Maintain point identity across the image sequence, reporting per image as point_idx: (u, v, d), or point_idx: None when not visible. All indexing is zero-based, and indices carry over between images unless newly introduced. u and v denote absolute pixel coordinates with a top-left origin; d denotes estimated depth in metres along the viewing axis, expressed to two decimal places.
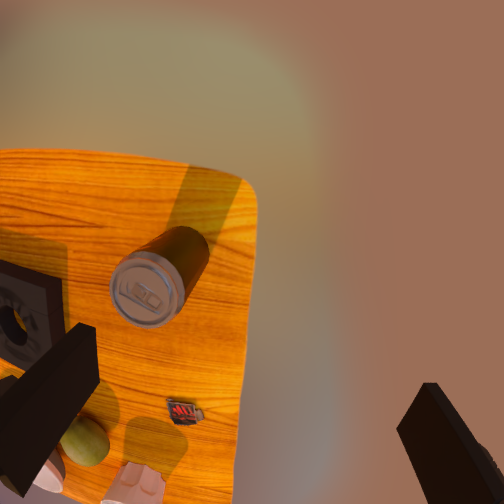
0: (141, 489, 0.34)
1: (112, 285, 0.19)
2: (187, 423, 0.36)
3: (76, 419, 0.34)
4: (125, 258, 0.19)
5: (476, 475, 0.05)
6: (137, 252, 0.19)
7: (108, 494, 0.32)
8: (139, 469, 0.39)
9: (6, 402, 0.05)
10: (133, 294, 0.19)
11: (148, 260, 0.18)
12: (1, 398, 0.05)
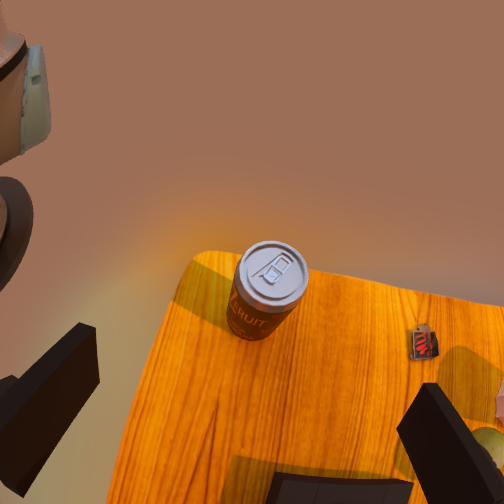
0: None
1: (264, 300, 0.20)
2: (435, 341, 0.32)
3: None
4: (239, 289, 0.21)
5: (476, 475, 0.05)
6: (235, 278, 0.22)
7: None
8: (501, 401, 0.28)
9: (6, 402, 0.05)
10: (273, 281, 0.21)
11: (242, 259, 0.21)
12: (1, 398, 0.05)
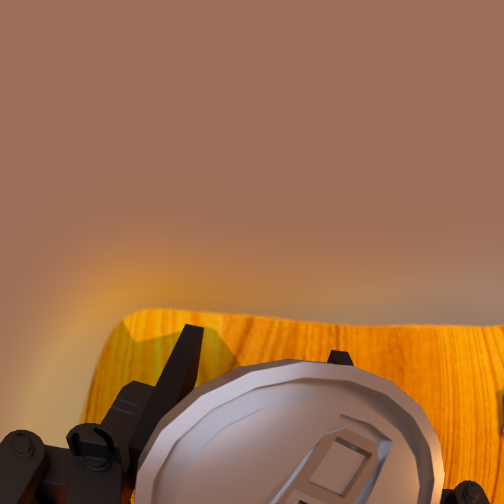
0: None
1: None
2: None
3: None
4: None
5: None
6: None
7: None
8: None
9: (156, 407, 0.07)
10: None
11: (140, 475, 0.03)
12: (149, 404, 0.07)
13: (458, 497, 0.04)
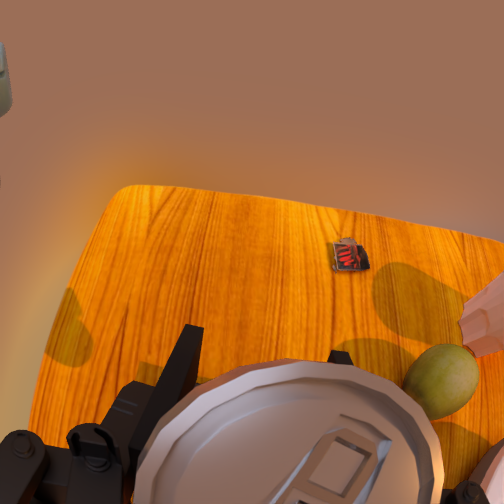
0: (484, 300, 0.28)
1: None
2: (364, 254, 0.35)
3: (405, 391, 0.24)
4: None
5: None
6: None
7: None
8: (466, 324, 0.31)
9: (156, 407, 0.07)
10: None
11: (139, 475, 0.03)
12: (149, 404, 0.07)
13: (458, 497, 0.04)
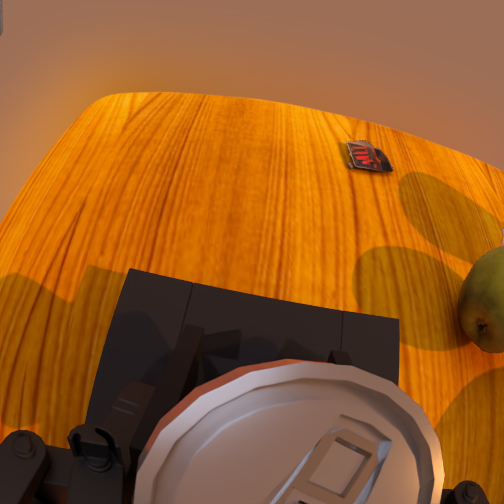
0: None
1: None
2: (384, 157, 0.27)
3: (467, 308, 0.16)
4: None
5: None
6: None
7: None
8: None
9: (157, 407, 0.07)
10: None
11: (140, 475, 0.03)
12: (150, 405, 0.07)
13: (457, 497, 0.04)
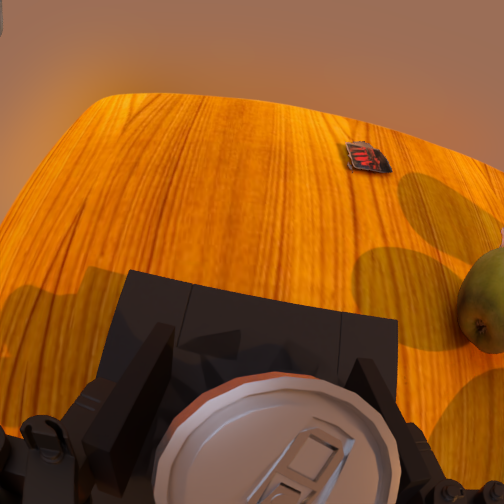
0: None
1: None
2: (383, 158, 0.27)
3: (465, 309, 0.17)
4: None
5: None
6: None
7: None
8: None
9: (115, 404, 0.07)
10: None
11: (160, 462, 0.04)
12: (107, 401, 0.07)
13: (485, 495, 0.04)
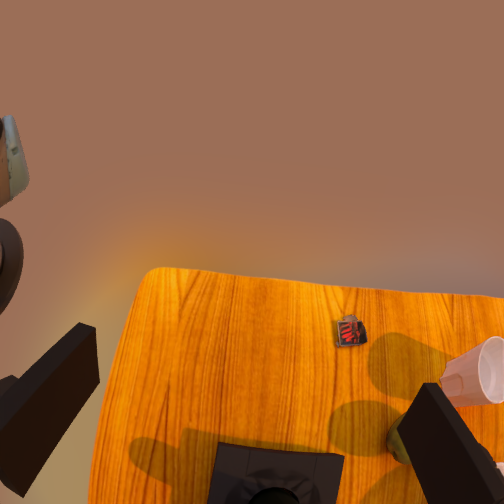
0: (462, 366, 0.33)
1: None
2: (363, 329, 0.41)
3: (388, 443, 0.30)
4: None
5: (476, 475, 0.05)
6: None
7: (478, 396, 0.28)
8: (446, 382, 0.36)
9: (6, 402, 0.05)
10: None
11: None
12: (1, 398, 0.05)
13: None
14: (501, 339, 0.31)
